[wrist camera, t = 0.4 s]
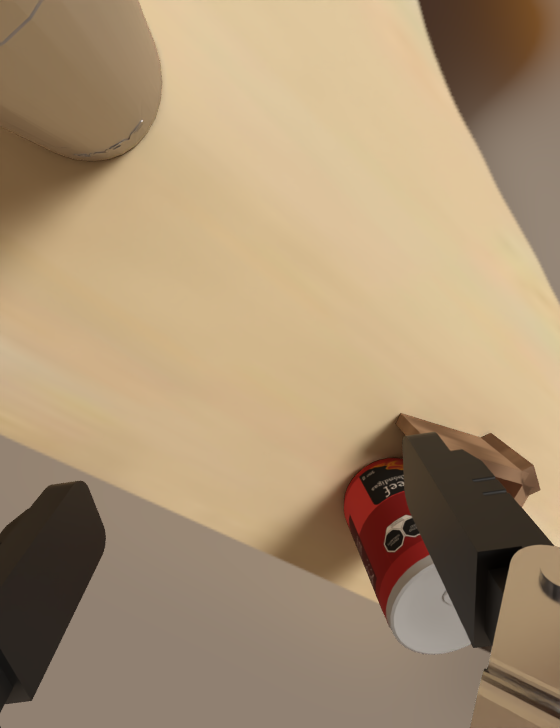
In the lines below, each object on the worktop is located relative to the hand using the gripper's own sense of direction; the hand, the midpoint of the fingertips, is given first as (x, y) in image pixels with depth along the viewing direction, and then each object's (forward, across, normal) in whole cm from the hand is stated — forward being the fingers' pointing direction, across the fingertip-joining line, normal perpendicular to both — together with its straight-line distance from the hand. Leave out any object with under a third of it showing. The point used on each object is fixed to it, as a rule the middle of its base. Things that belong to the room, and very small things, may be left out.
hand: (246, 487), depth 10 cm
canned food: (+20, -8, +18) cm, 28 cm away
